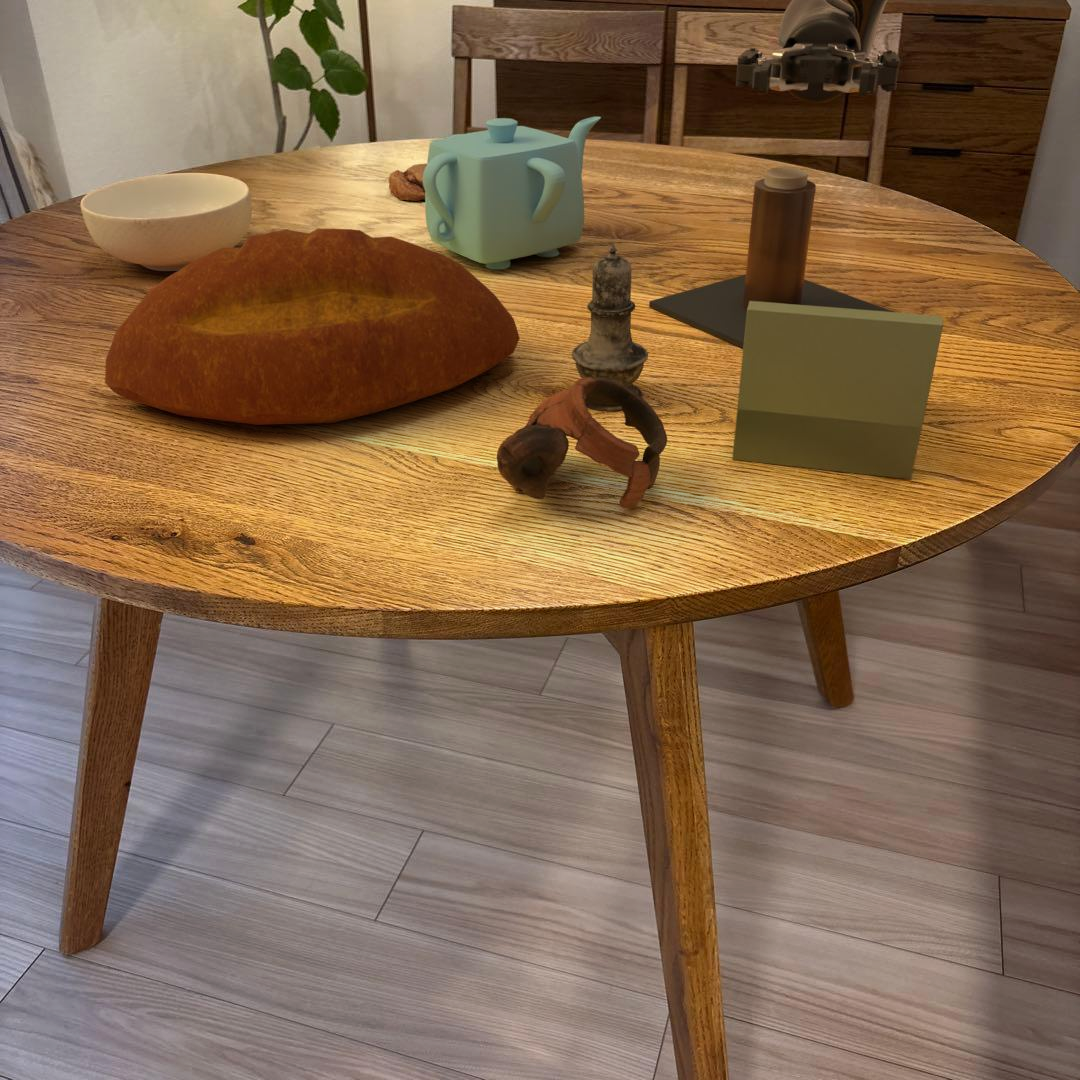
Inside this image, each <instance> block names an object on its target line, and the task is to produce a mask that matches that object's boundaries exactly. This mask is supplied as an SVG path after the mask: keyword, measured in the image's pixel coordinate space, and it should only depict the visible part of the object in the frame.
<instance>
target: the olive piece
mask: <svg viewBox="0 0 1080 1080" xmlns="http://www.w3.org/2000/svg"><path fill="white" fill-rule="evenodd" d="M943 329H944V321H943V315H934V314H921V313H910V312H897V311H894V312H885V311H872V310H859V309H846V308H834V307H821V306H808V305H795V304H783V303H770V302H757V301H749V305H748V308H747V316H746V326H745V336H744V346H743V348H742V357H741V368H740V377H739V387H738V397H737V407H736V416H735V428H734V437H733V446H732V458H731V459H732V460H733V461H742V462H743V461H744V462H754V463H760V464H761V463H762V464H770V465H771V464H772V465H780V466H788V467H795V468H796V467H797V468H805V469H806V468H807V469H815V470H825V471H832V472H840V473H851V474H858V475H869V476H877V477H886V478H894V479H904V480H912V478H913V472H914V468H915V463H916V458H917V454H918V453H917V452H918V449H919V443H920V439H921V435H922V430H923V425H924V420H925V416H926V410H927V405H928V401H929V396H930V392H931V386H932V382H933V376H934V372H935V368H936V362H937V357H938V354H939V353H938V352H939V349H940V343H941V340H942V339H941V338H942V333H943Z"/></svg>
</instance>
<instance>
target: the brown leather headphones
mask: <svg viewBox="0 0 1080 1080" xmlns="http://www.w3.org/2000/svg"><path fill="white" fill-rule="evenodd" d="M583 394H586V397H585V398H584V399H583ZM585 403H592V404H605V405H620V406H621V407H622V410H621V411H622V412H623V415H624V425H625V427H631V428H634V429H635V430H637V431H638V432H639V434H640V436H642V438H643V440H644V441H645V443H646V444H647V445H648V446H647V447H645V449H644V451H643V454H642V459H641V460H639V459H638V458H639V456H640V454H641V453H640V451H639V448H638V446H637V445H636V444H633V443H631V442H628V441H626V440H623V439H622V438H619V437H617V436H615V434H613V433H612V432H610V431H609V430H608V429H607V428H605V427H604V426H603V425H602V424H601V423H600V422H598V421H597V420H596V419H595V417H593V415H592V413H591V412H590V411H589V408H588V407H586V405H585ZM568 437H569V438H572V439H574V440H576V441H577V442H576V445H575V447H574V450H576V451H577V452H579V453H580V454H582V455H585V456H586V457H588V458H590V459H591V460H592V461H594V462H595V463H598V464H600V465H604V466H606V467H608V468H609V469H611V470H612V471H613V472H615V473H617V474H620V475H622V476H624V477H627V478H628V479H627V483H626V488H625V491H624V492H623V494H622V497H621V498H620V499H619V506H620V508H621V509H625V510H626V509H627V510H628V509H629V510H631V509H634V508H637V506H638V505H639V503H640V501H642V500H643V499H644V498H645V494H646V492H647V491H648V490H652V488H653V487H654V485H655V482H656V480H657V477H658V474H659V471H660V465H661V464H660V463H661V457H660V455H661V453H663V452H664V450H665V449H666V446H667V443H668V436H667V432H666V429H665V426H664V424H663V420H662V419H661V418H660V417H659V415H658V413H657V412H656V411H655V410H654V409H653V407H652V406H651V404H650V403H648V401H646V400H645V399H644V398H643V397H642V398H641V397H640V396H639V395H637V394H636V393H635V392H634V391H632V390H631V389H629V388H628V387H626V386H624V385H622V384H620V383H618V382H616V381H613V380H610V379H607V378H603V377H596V376H592V377H584V378H581V377H580V378H579V379H577V380H576V381H575V382H574V384H573V385H572V387H571V388H569V389H565V390H561V391H557V392H556V393H553V394H552V395H549V396H548V397H546V398H545V399H543V401H541V403H540V404H539V405H538V406H537V407H535V409H534V411H533V412H531V414H530V415H529V418H528V420H527V423H526V425H524V426H523V427H521V428H519V429H518V430H516V431H515V432H514V433H512V434H511V435H509V436H507V437H506V438H505V439H504V440H502V442H501V444H500V445H499V447H498V448H497V452H496V461H497V462H496V463H497V469H498V472H499V474H500V476H501V477H502V478H503V480H505V482H507V483H508V484H509V485H511V486H512V488H513V490H514V491H515V492H520V491H521V490H522V493H523V494H525V496H528V497H530V498H534V499H536V500H542V499H544V498H545V496H546V493H547V488H548V486H549V484H550V482H551V480H552V477H554V475H555V474H556V472H557V470H558V468H560V467H561V465H563V463H564V462H565V460H566V457H567V453H568V451H569V447H570V443H569V442H570V441H569V439H568ZM636 459H638V460H636Z"/></svg>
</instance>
